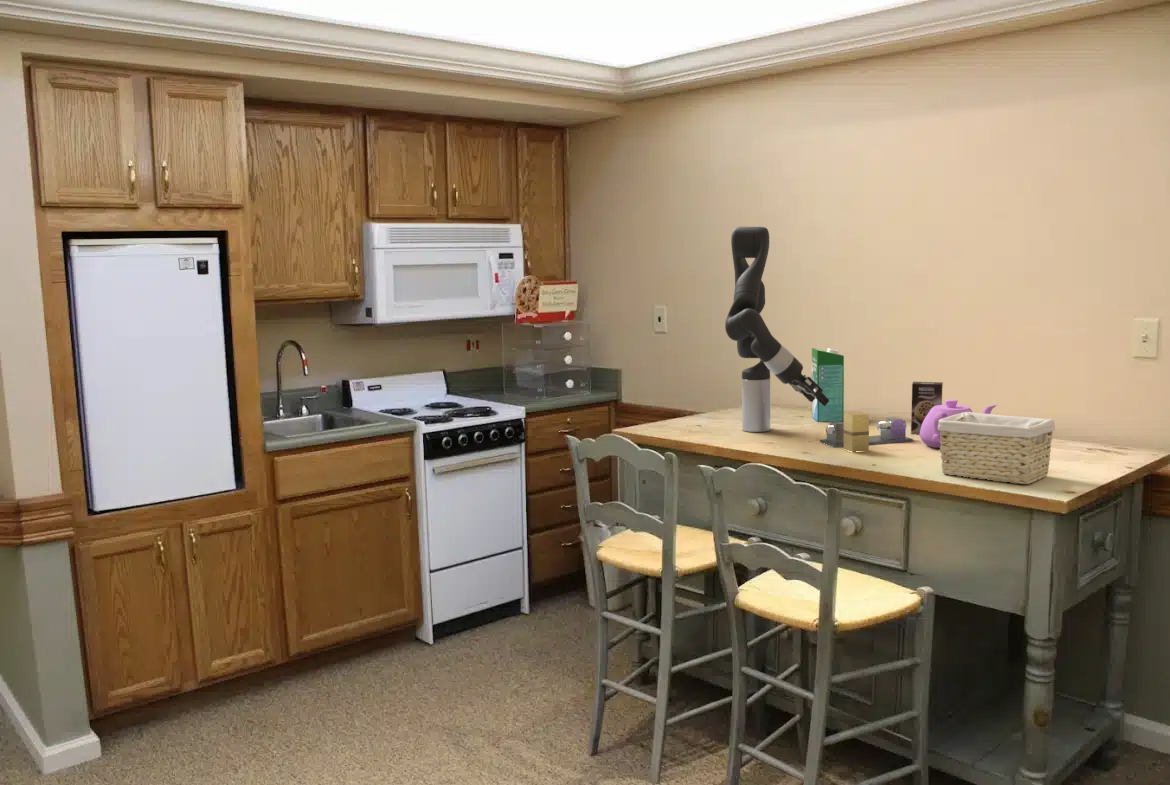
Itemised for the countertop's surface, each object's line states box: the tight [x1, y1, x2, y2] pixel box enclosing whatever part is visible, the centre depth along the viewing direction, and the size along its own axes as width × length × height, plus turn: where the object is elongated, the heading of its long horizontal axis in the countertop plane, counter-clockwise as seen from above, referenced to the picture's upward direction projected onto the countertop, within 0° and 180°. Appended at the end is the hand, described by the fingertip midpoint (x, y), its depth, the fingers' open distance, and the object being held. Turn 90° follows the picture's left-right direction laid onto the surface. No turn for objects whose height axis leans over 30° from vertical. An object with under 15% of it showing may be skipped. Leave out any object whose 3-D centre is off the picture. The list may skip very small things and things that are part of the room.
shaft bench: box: [819, 416, 914, 448], centre depth 291 cm, size 26×9×7 cm, turn 102°
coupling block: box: [843, 411, 870, 452], centre depth 278 cm, size 5×5×11 cm
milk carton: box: [811, 347, 845, 423], centre depth 332 cm, size 9×9×25 cm
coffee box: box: [910, 381, 944, 435], centre depth 302 cm, size 9×6×16 cm
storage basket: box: [938, 412, 1056, 485], centre depth 241 cm, size 24×16×15 cm
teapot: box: [919, 399, 998, 449], centre depth 278 cm, size 22×22×14 cm
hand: (819, 401), depth 274 cm, fingers open, 8 cm apart
